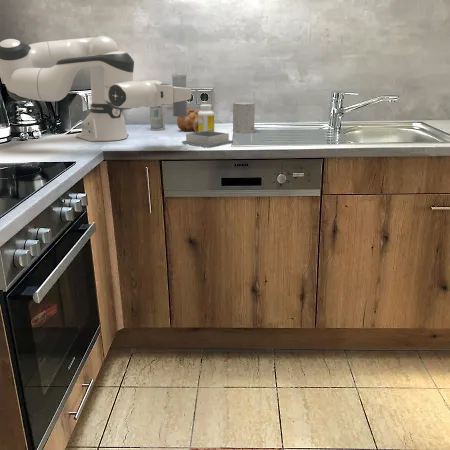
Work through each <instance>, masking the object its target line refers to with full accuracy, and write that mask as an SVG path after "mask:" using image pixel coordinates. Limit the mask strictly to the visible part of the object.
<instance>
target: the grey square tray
mask: <svg viewBox="0 0 450 450" xmlns="http://www.w3.org/2000/svg"><path fill="white" fill-rule="evenodd" d="M185 136H186V137H185V139H186V140H182V141H181V144H182V143H183V145H188V144H189V146H194V145H195V146H196V147H200V146H201V148H206V147H207V148H206V149H210V148H215V147H219V146H223V145H224V146H225V145H229V144H233V143H234V141H233V140H230V137H229V136H230V133H228V132H227V133H226V132H219V131H215V130H214V131H201V132H195V131H194V132H192V133H191V132H190V133H186V135H185ZM195 146H194V147H195Z"/></svg>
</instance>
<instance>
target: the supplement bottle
mask: <svg viewBox="0 0 450 450" xmlns="http://www.w3.org/2000/svg"><path fill="white" fill-rule="evenodd" d="M199 107H200V110H198V111H199V112H198V132H201V131H214V132H215V112H214V111H212V104H210V103H209V104H200V105H199Z"/></svg>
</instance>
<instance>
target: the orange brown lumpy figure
mask: <svg viewBox="0 0 450 450" xmlns="http://www.w3.org/2000/svg"><path fill="white" fill-rule="evenodd" d="M199 111H200V110H198V109H193V108H190V107H188V106H187V116H183V117H177V116H176V117H177V118H176V124H177V127H178V129H179V130H180V131H192V132H194V133H195V132H198V112H199Z"/></svg>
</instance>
